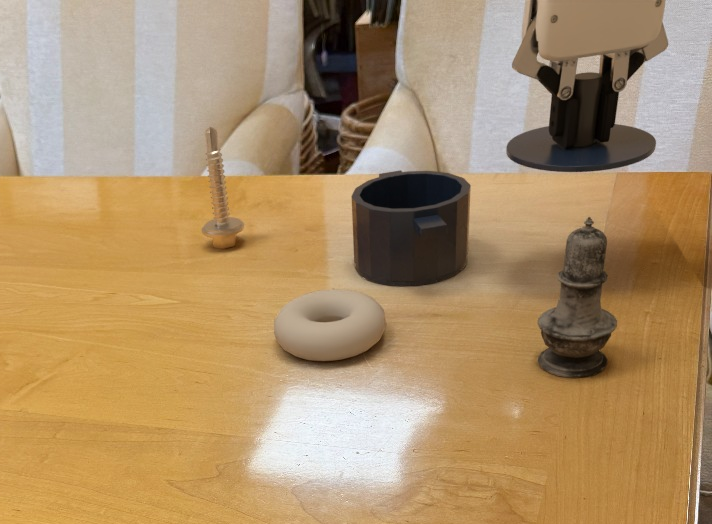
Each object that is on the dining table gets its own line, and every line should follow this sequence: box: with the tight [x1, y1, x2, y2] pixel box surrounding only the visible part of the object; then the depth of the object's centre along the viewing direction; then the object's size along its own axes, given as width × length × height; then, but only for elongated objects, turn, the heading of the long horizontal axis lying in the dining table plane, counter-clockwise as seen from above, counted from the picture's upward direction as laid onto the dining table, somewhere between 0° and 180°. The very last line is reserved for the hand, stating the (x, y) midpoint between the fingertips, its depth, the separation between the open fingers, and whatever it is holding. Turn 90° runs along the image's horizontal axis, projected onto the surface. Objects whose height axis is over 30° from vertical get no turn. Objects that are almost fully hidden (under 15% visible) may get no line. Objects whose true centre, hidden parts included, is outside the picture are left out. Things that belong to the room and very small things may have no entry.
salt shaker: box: [537, 216, 618, 379], centre depth 70 cm, size 6×6×12 cm
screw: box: [201, 126, 245, 250], centre depth 100 cm, size 13×5×5 cm
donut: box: [273, 288, 387, 362], centre depth 81 cm, size 10×4×10 cm
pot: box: [351, 169, 472, 287], centre depth 91 cm, size 11×17×8 cm
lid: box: [505, 71, 657, 173], centre depth 78 cm, size 12×12×7 cm
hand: (579, 139), depth 79 cm, fingers closed on lid, 2 cm apart
